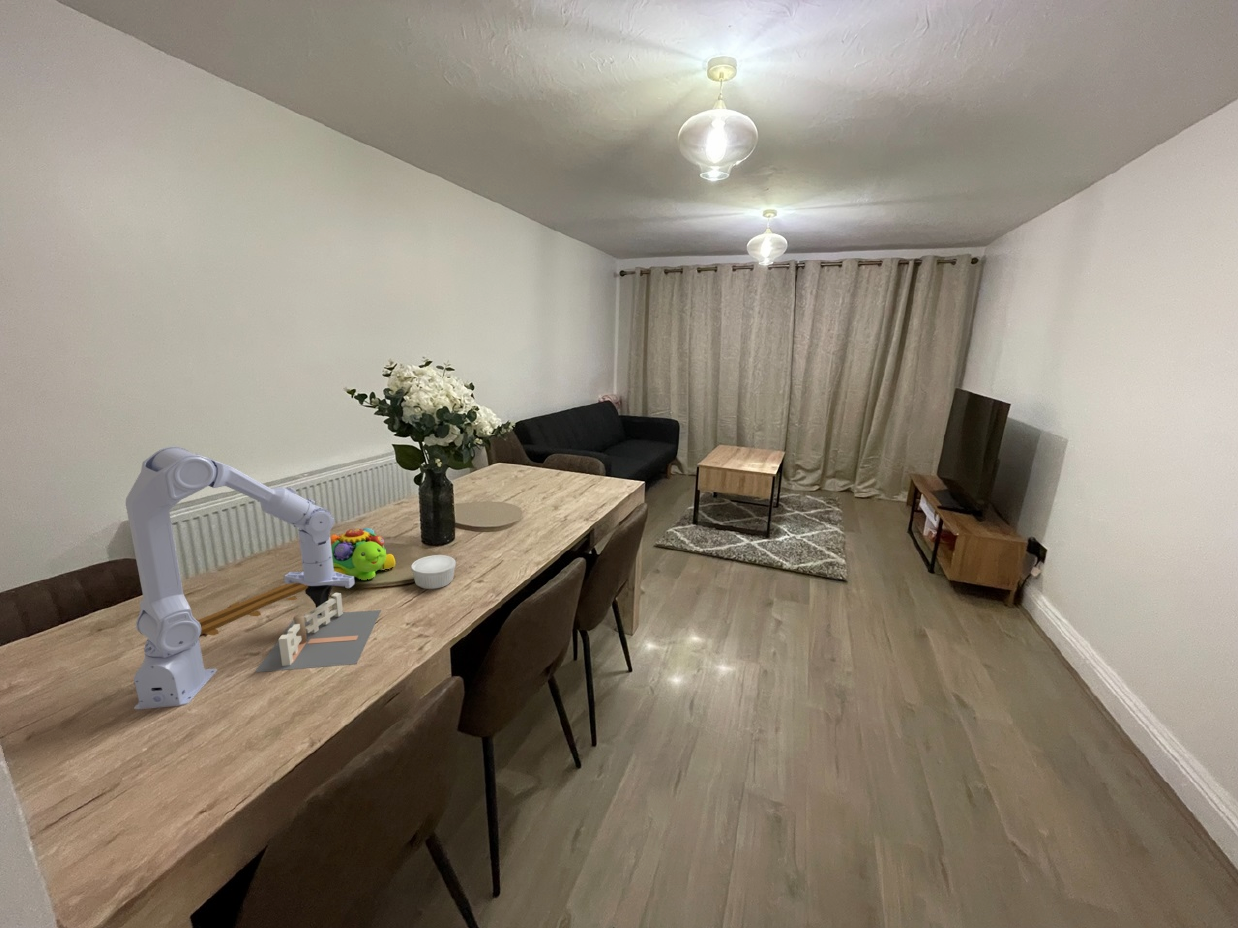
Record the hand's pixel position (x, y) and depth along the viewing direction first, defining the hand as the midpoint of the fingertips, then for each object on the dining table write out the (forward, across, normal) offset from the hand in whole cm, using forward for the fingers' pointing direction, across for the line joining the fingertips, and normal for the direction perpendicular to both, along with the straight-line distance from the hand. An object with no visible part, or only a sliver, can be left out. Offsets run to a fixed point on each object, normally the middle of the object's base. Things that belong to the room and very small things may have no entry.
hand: (323, 612), depth 111 cm
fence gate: (+2, -1, +2) cm, 3 cm away
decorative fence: (+3, +19, -4) cm, 20 cm away
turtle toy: (+3, +5, -24) cm, 24 cm away
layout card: (+2, -4, +6) cm, 7 cm away
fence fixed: (+2, -1, +11) cm, 11 cm away
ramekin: (+3, -16, -22) cm, 28 cm away
